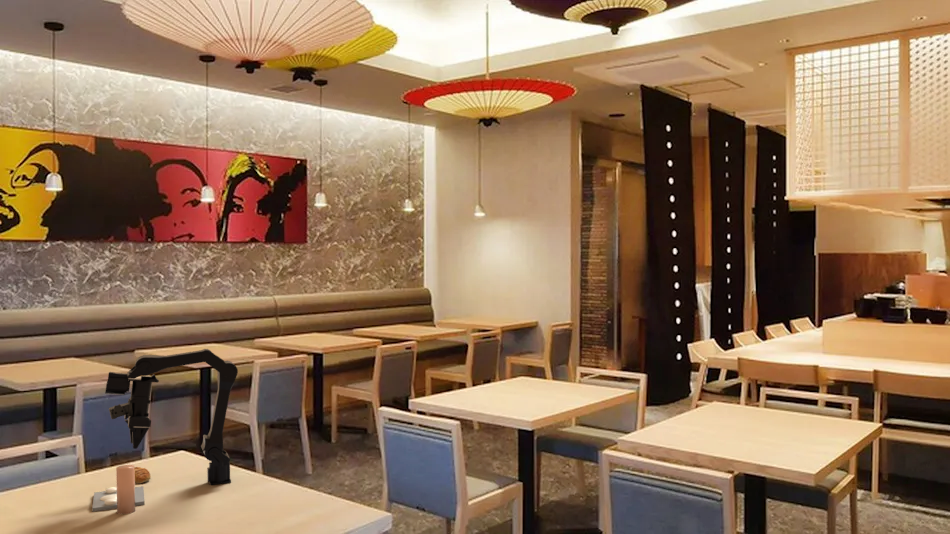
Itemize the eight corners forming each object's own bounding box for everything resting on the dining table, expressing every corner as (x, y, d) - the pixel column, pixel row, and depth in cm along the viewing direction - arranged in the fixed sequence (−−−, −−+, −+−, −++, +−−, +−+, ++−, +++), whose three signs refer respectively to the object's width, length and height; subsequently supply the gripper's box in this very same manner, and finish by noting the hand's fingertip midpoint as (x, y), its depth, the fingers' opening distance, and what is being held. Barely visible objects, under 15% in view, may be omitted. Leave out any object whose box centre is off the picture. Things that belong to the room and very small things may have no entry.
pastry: (156, 481, 252) (155, 470, 252) (135, 486, 247) (134, 474, 247) (144, 475, 259) (144, 464, 259) (124, 480, 254) (123, 468, 254)
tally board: (143, 489, 243) (143, 483, 243) (144, 504, 228) (144, 498, 228) (94, 495, 237) (94, 489, 237) (92, 511, 223) (92, 504, 223)
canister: (135, 507, 226) (134, 464, 226) (135, 512, 222) (134, 468, 221) (117, 510, 224) (116, 466, 224) (117, 515, 220) (116, 470, 219)
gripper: (110, 391, 245) (104, 440, 243) (114, 398, 228) (107, 451, 227) (148, 392, 250) (141, 441, 248) (154, 399, 233) (147, 451, 232)
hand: (133, 445), depth 239 cm, fingers open, 9 cm apart
